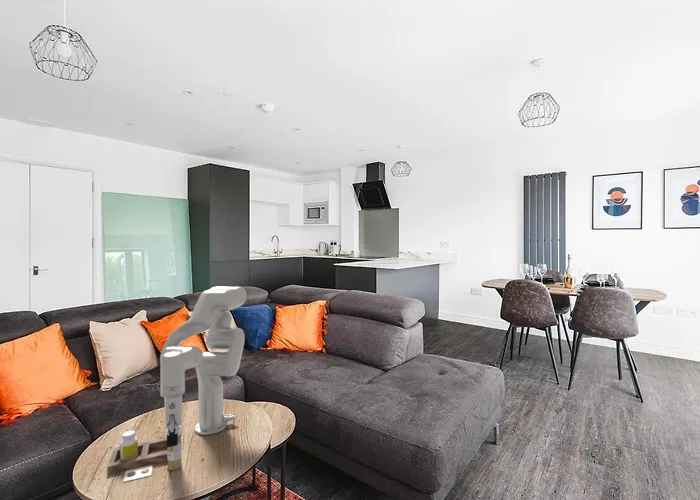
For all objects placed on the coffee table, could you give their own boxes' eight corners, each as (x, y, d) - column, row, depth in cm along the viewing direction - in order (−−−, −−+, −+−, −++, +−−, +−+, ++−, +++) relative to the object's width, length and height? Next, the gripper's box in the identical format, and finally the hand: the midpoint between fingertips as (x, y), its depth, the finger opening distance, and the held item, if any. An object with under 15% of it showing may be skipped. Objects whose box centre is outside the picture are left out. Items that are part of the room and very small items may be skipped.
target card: (152, 465, 125) (152, 464, 125) (151, 475, 120) (151, 474, 120) (126, 471, 122) (126, 470, 122) (122, 482, 116) (122, 481, 116)
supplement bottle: (141, 458, 130) (140, 431, 129) (126, 466, 125) (126, 438, 124) (131, 454, 132) (131, 428, 132) (116, 462, 127) (116, 435, 127)
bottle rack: (177, 441, 140) (177, 435, 140) (176, 458, 129) (176, 451, 129) (114, 455, 132) (114, 448, 131) (107, 474, 121) (107, 467, 120)
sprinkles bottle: (165, 467, 124) (164, 428, 124) (178, 461, 128) (177, 423, 127) (170, 472, 121) (170, 433, 121) (184, 466, 125) (183, 427, 124)
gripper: (184, 396, 117) (184, 449, 117) (185, 379, 133) (185, 425, 133) (158, 400, 114) (158, 454, 114) (162, 382, 130) (162, 430, 130)
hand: (172, 439), depth 123 cm, fingers open, 9 cm apart
